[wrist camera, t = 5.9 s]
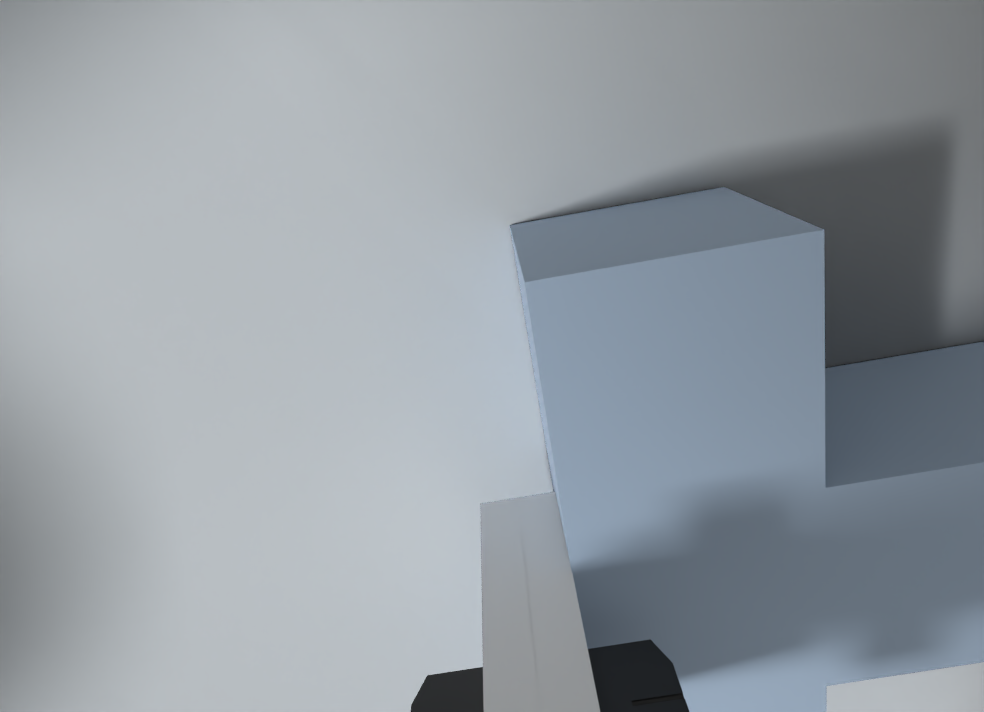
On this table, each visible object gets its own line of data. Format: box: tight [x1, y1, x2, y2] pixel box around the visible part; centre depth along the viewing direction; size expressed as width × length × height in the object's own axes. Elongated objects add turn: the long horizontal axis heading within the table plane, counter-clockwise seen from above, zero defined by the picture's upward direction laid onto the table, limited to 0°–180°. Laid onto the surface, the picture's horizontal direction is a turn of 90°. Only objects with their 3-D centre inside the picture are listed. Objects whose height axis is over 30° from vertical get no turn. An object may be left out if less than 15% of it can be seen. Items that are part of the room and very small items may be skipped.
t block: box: [510, 187, 984, 712], centre depth 13 cm, size 10×12×4 cm
